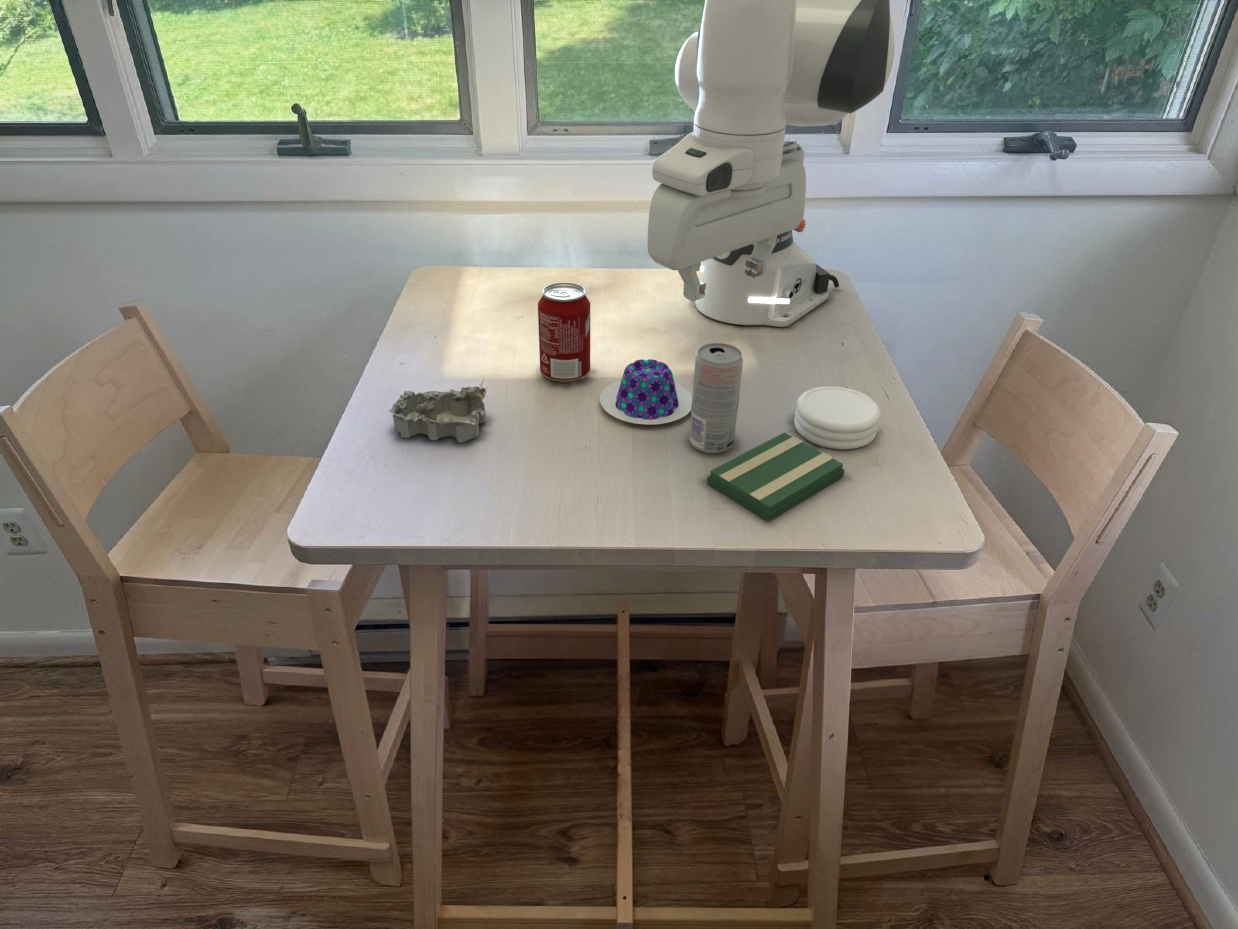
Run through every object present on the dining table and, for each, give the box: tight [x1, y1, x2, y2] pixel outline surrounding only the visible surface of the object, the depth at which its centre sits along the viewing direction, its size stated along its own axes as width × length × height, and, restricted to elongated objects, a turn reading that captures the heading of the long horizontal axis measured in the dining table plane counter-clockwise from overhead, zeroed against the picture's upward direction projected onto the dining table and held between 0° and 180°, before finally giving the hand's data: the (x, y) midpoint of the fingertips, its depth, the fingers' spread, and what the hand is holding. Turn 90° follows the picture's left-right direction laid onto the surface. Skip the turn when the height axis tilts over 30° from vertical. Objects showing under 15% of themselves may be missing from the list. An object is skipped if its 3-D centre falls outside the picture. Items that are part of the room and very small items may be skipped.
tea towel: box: [706, 432, 845, 522], centre depth 97 cm, size 13×9×2 cm
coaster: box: [793, 385, 881, 450], centre depth 106 cm, size 10×10×4 cm
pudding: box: [599, 358, 693, 425], centre depth 110 cm, size 12×12×5 cm
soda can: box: [537, 281, 591, 384], centre depth 114 cm, size 7×7×12 cm
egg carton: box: [388, 386, 487, 443], centre depth 105 cm, size 11×8×4 cm
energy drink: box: [688, 342, 744, 455], centre depth 101 cm, size 5×5×12 cm
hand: (725, 286), depth 93 cm, fingers open, 8 cm apart
